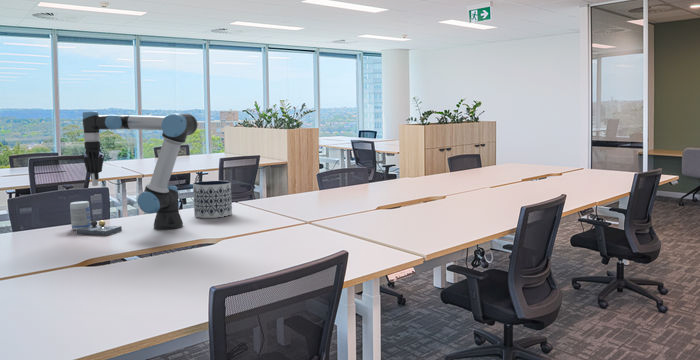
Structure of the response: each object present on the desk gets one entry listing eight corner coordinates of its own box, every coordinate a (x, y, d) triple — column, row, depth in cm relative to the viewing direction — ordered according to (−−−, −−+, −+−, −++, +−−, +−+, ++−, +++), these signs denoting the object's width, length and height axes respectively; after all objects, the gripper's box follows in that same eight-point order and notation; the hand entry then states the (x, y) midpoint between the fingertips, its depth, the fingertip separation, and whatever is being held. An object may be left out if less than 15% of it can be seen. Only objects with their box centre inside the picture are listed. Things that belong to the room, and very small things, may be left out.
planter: (227, 218, 315) (225, 184, 313) (189, 219, 315) (187, 185, 313) (235, 212, 337) (234, 180, 335) (200, 212, 338) (199, 180, 335)
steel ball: (107, 226, 279) (101, 226, 279) (103, 228, 276) (97, 228, 276) (107, 232, 279) (102, 232, 280) (103, 234, 276) (98, 234, 277)
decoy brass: (106, 226, 285) (106, 220, 284) (102, 227, 282) (102, 221, 281) (101, 225, 285) (101, 220, 285) (97, 227, 282) (97, 221, 282)
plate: (121, 230, 284) (121, 226, 283) (106, 235, 272) (105, 230, 272) (93, 229, 288) (92, 225, 288) (76, 234, 277) (76, 229, 276)
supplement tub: (92, 229, 289) (90, 202, 288) (72, 231, 284) (70, 204, 283) (89, 226, 298) (87, 200, 296) (70, 228, 292) (68, 202, 291)
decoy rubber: (98, 225, 286) (98, 219, 286) (94, 226, 283) (94, 221, 282) (93, 225, 287) (93, 219, 286) (89, 226, 284) (89, 220, 283)
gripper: (107, 140, 282) (110, 184, 284) (86, 140, 285) (90, 184, 287) (97, 141, 274) (100, 186, 277) (76, 141, 278) (79, 186, 280)
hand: (95, 185), depth 282 cm, fingers closed
